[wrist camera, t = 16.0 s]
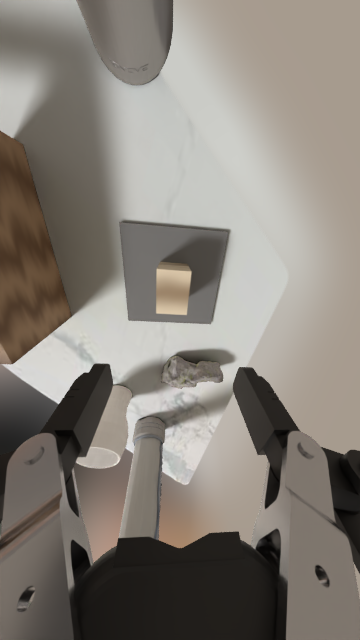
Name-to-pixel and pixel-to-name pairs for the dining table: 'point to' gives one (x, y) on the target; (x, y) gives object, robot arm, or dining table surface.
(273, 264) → the dining table surface
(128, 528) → the canister
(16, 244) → the access box
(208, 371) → the rock
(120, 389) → the cup
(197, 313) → the mat
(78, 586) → the robot arm
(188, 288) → the block
